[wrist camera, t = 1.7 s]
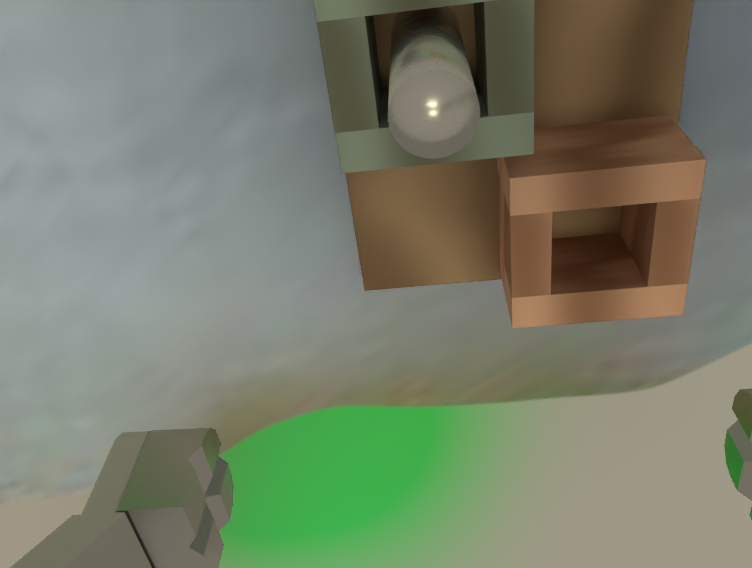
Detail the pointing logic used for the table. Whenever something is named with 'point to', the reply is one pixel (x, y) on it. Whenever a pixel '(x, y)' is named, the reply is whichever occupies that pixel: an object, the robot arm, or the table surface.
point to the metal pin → (430, 84)
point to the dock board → (564, 91)
